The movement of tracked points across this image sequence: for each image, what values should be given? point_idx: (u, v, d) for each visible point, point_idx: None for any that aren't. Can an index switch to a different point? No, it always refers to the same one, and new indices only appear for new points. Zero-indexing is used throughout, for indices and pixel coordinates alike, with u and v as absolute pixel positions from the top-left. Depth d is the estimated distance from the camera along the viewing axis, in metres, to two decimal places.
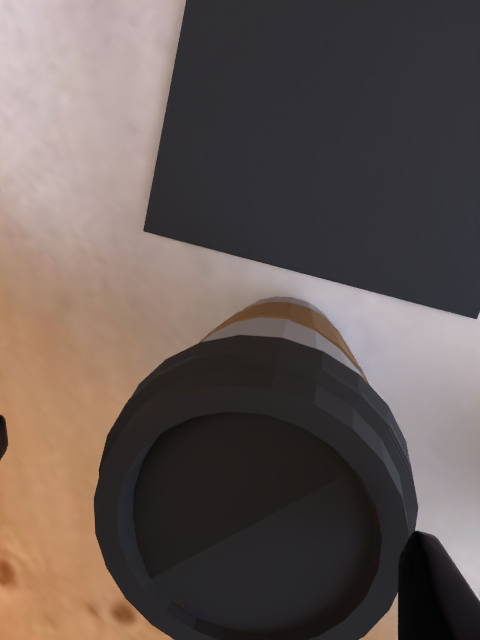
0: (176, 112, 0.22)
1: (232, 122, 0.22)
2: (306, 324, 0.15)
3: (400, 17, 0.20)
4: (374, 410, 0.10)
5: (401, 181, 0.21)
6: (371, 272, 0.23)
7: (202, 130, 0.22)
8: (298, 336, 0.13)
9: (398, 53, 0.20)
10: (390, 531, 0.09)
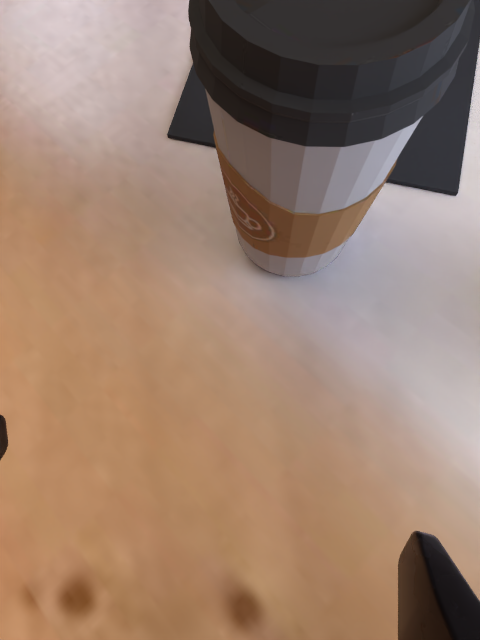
0: None
1: None
2: None
3: None
4: None
5: None
6: None
7: None
8: None
9: None
10: None
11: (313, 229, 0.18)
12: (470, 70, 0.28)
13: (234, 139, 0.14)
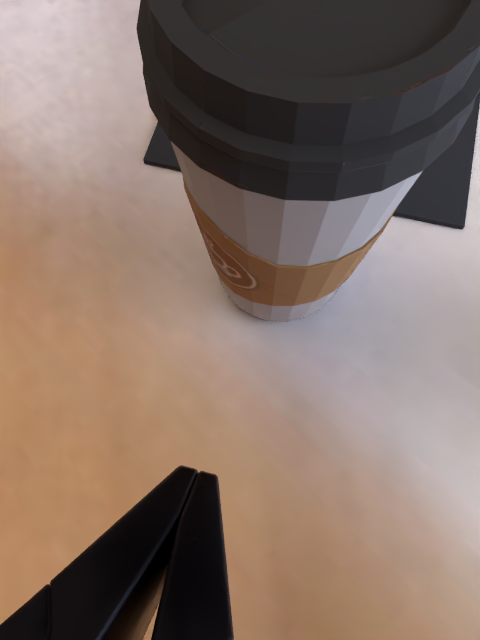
0: None
1: None
2: None
3: None
4: None
5: None
6: None
7: None
8: None
9: None
10: None
11: (301, 281, 0.15)
12: None
13: (200, 184, 0.12)
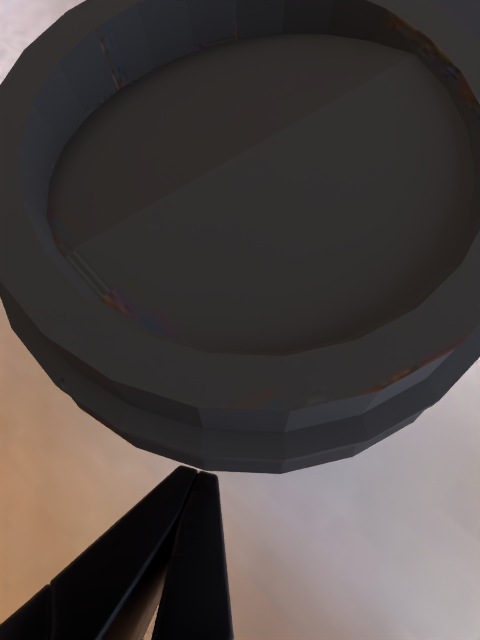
0: None
1: None
2: None
3: None
4: None
5: None
6: None
7: None
8: None
9: None
10: None
11: None
12: None
13: None
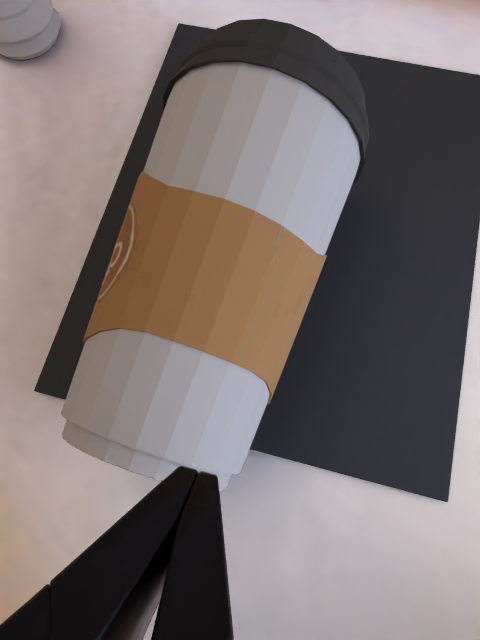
0: (94, 267, 0.21)
1: None
2: None
3: None
4: None
5: (334, 339, 0.20)
6: (312, 441, 0.18)
7: None
8: None
9: None
10: None
11: (178, 229, 0.13)
12: (464, 291, 0.20)
13: (159, 126, 0.16)
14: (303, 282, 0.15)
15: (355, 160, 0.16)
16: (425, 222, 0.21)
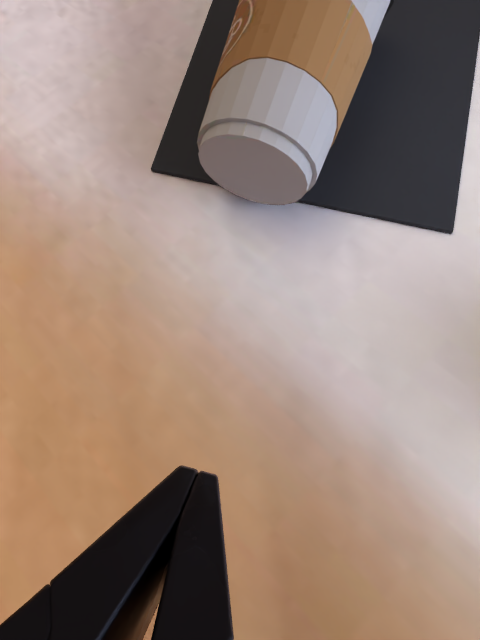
0: (189, 89, 0.28)
1: None
2: None
3: None
4: None
5: (369, 133, 0.27)
6: (355, 196, 0.26)
7: None
8: None
9: None
10: None
11: None
12: (465, 101, 0.27)
13: None
14: (360, 50, 0.22)
15: None
16: (436, 56, 0.28)
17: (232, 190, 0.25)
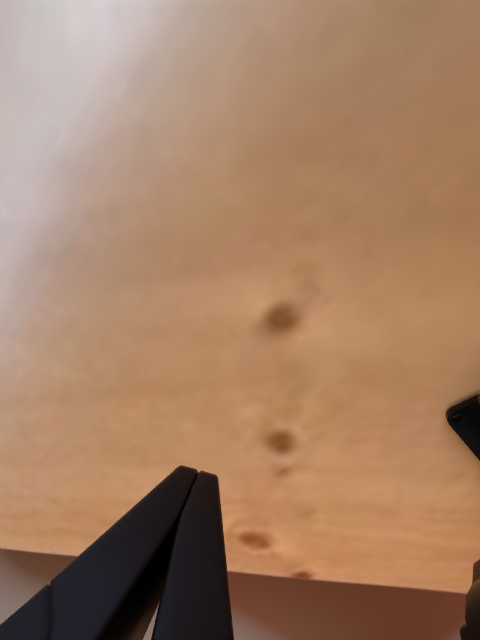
0: None
1: None
2: None
3: None
4: None
5: None
6: None
7: None
8: None
9: None
10: None
11: None
12: None
13: None
14: None
15: None
16: None
17: None
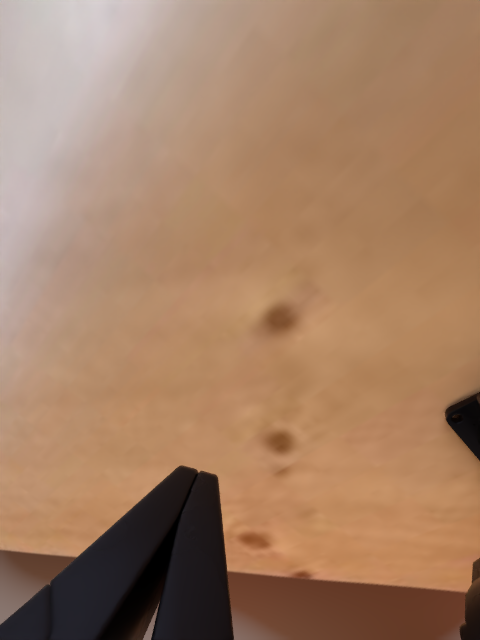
0: None
1: None
2: None
3: None
4: None
5: None
6: None
7: None
8: None
9: None
10: None
11: None
12: None
13: None
14: None
15: None
16: None
17: None
